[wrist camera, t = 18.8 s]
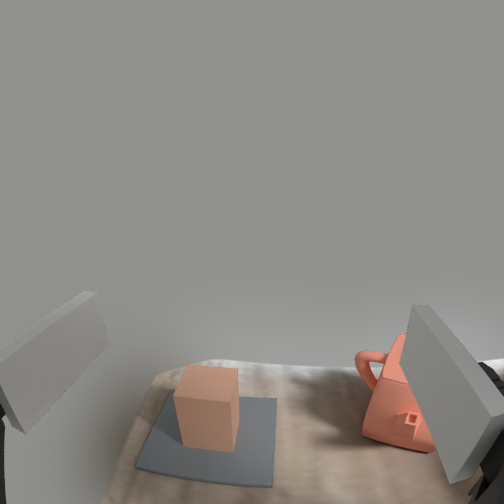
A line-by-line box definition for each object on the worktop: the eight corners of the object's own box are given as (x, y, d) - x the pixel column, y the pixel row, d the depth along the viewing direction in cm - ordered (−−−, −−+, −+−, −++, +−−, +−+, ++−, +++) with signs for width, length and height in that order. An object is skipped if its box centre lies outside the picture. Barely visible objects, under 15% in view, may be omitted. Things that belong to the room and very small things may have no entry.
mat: (276, 401, 48) (276, 398, 48) (271, 487, 31) (272, 485, 30) (171, 392, 50) (171, 389, 49) (135, 468, 32) (134, 465, 32)
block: (239, 419, 43) (237, 368, 40) (233, 452, 36) (230, 401, 34) (194, 414, 44) (187, 364, 41) (183, 446, 37) (172, 395, 34)
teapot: (359, 379, 53) (372, 312, 49) (467, 403, 40) (493, 335, 37) (313, 451, 37) (327, 376, 33) (456, 488, 25) (504, 415, 21)
